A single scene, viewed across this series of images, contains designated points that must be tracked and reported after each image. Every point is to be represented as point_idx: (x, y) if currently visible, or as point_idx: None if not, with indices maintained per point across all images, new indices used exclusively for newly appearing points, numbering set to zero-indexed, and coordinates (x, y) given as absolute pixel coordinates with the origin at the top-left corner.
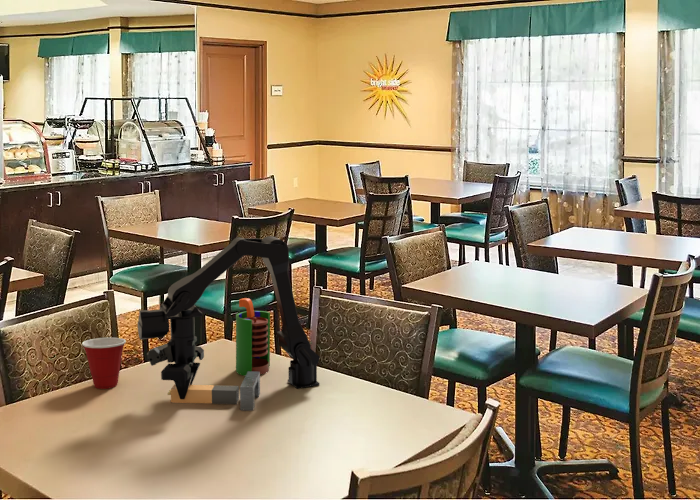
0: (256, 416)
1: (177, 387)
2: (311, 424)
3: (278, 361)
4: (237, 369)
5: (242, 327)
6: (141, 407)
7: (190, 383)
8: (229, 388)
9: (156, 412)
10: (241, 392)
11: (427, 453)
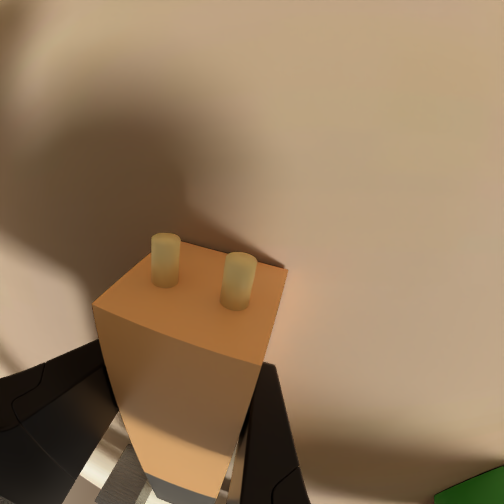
0: (102, 444)
1: (44, 370)
2: (100, 468)
3: None
4: (488, 483)
5: None
6: (102, 23)
7: (234, 464)
8: (178, 500)
9: (35, 153)
10: (103, 489)
11: None
